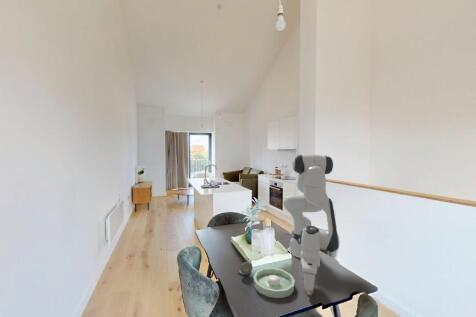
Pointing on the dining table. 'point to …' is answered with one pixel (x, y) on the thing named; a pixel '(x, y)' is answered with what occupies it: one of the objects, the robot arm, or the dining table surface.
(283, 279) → the groove tray
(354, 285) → the dining table surface
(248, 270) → the pocket watch
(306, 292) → the bead
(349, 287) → the dining table surface
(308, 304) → the dining table surface
